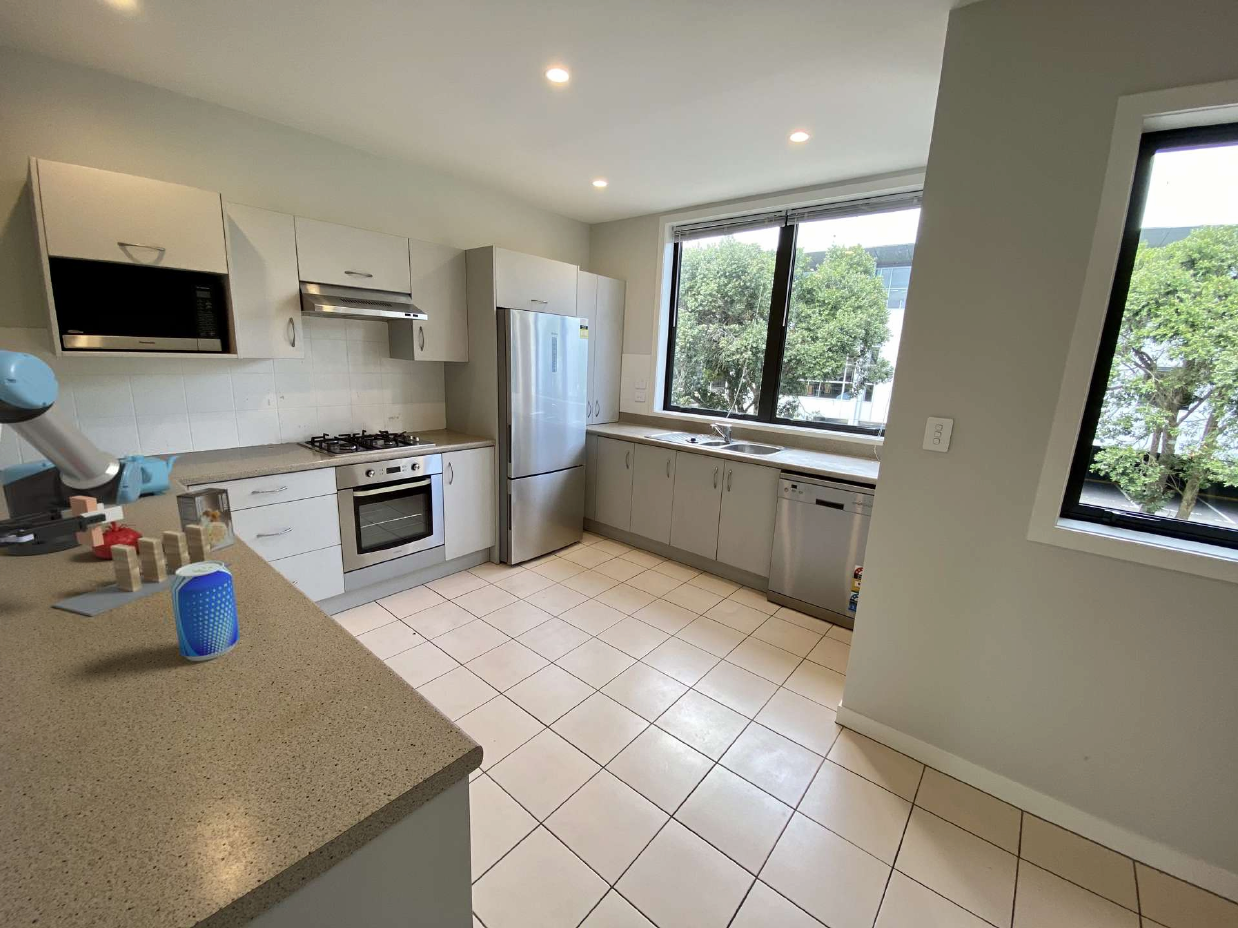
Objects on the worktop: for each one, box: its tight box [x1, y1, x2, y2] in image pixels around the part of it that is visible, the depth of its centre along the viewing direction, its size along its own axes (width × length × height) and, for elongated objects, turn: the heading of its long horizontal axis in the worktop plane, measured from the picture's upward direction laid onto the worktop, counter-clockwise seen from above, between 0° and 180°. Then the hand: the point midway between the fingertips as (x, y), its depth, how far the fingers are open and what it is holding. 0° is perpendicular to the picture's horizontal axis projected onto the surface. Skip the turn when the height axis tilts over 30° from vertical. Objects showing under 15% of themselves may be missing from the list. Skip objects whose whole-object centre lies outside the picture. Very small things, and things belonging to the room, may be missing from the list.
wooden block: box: [185, 524, 212, 564], centre depth 125 cm, size 2×5×10 cm, turn 74°
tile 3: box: [138, 536, 167, 583], centre depth 115 cm, size 2×5×10 cm, turn 74°
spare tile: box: [69, 496, 104, 547], centre depth 103 cm, size 2×5×10 cm, turn 74°
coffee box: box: [175, 487, 236, 554], centre depth 136 cm, size 9×6×16 cm
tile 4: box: [161, 529, 190, 573], centre depth 120 cm, size 2×5×10 cm, turn 74°
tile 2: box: [110, 544, 142, 592], centre depth 110 cm, size 2×5×10 cm, turn 74°
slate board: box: [51, 558, 233, 617], centre depth 115 cm, size 12×28×1 cm, turn 164°
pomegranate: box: [91, 520, 144, 560], centre depth 130 cm, size 10×10×9 cm
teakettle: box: [118, 454, 181, 499], centre depth 184 cm, size 19×19×15 cm
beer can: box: [169, 560, 241, 662], centre depth 89 cm, size 8×8×16 cm
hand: (111, 510), depth 107 cm, fingers closed on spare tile, 5 cm apart
